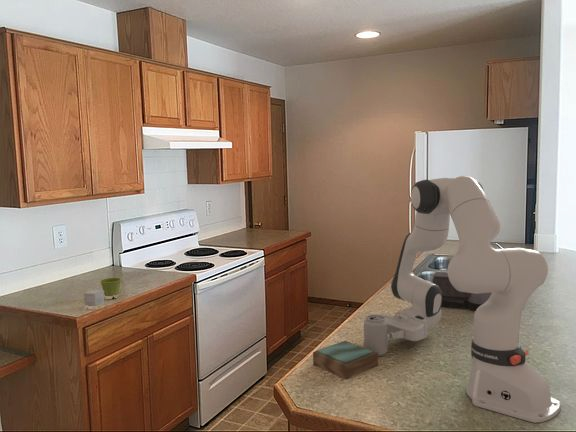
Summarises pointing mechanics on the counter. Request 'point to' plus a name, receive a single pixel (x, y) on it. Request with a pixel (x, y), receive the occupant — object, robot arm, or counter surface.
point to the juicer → (458, 295)
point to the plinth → (345, 359)
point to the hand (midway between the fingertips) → (379, 332)
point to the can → (375, 334)
